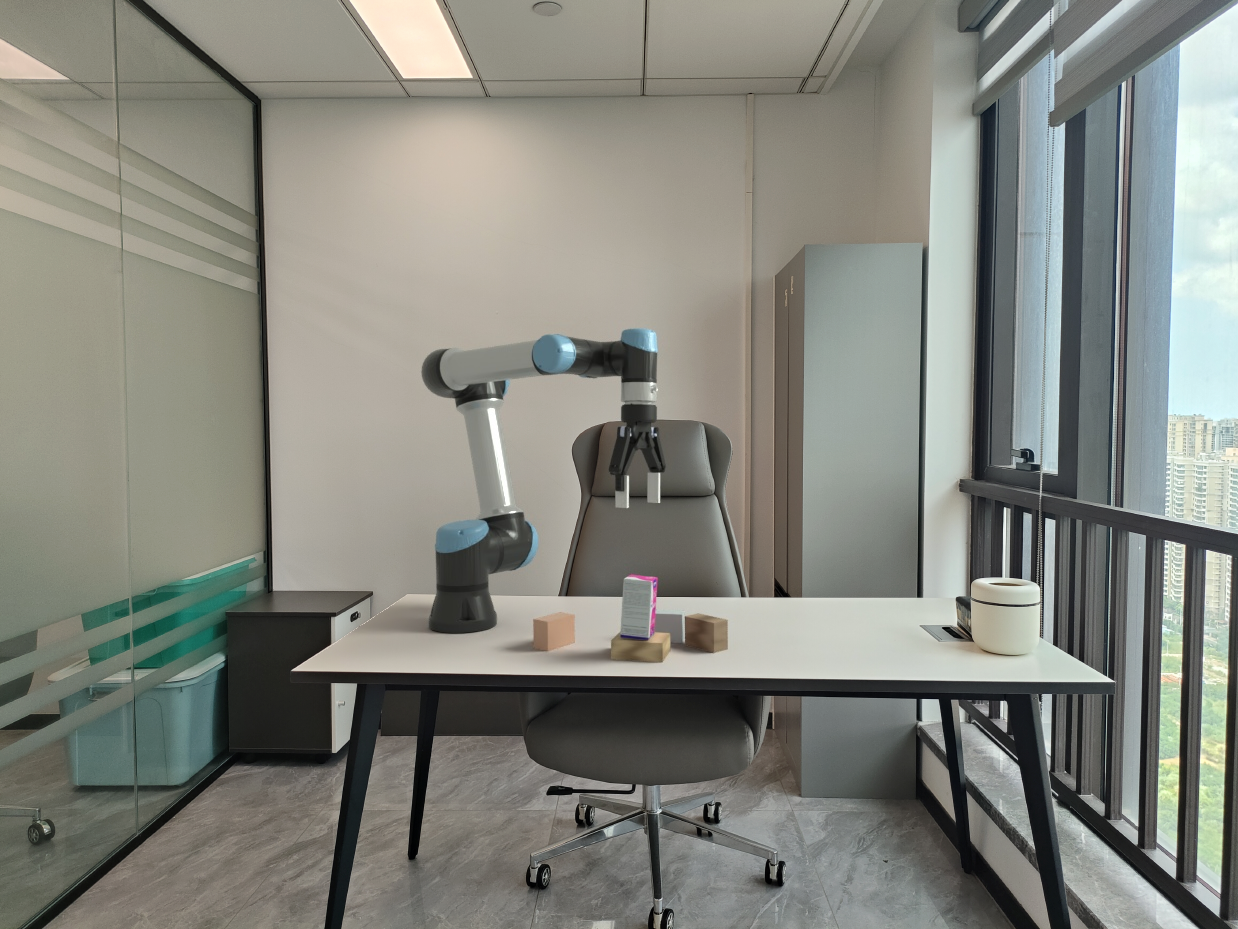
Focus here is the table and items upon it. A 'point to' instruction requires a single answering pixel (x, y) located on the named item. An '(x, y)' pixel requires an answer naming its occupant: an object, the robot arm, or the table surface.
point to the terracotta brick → (554, 631)
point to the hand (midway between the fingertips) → (638, 505)
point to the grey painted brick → (671, 624)
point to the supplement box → (638, 607)
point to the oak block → (641, 648)
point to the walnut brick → (706, 632)
